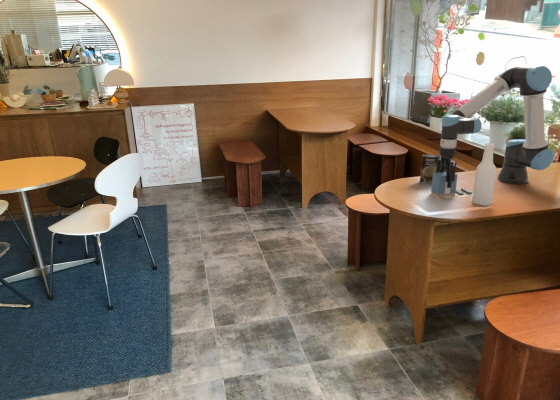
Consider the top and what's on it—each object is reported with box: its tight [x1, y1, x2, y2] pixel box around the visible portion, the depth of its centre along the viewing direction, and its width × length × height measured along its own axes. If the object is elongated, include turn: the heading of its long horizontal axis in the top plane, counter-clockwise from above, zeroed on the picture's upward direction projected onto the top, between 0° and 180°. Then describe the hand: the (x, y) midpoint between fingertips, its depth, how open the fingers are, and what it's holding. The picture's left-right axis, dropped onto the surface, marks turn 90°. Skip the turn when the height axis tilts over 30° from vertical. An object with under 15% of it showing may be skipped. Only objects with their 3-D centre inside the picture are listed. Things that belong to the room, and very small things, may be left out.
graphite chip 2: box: [460, 187, 473, 194], centre depth 233 cm, size 2×7×1 cm, turn 13°
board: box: [427, 187, 473, 200], centre depth 231 cm, size 22×12×1 cm, turn 103°
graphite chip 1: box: [455, 188, 464, 195], centre depth 232 cm, size 2×7×1 cm, turn 13°
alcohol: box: [471, 142, 497, 208], centre depth 214 cm, size 9×9×30 cm
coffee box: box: [419, 153, 440, 184], centre depth 249 cm, size 9×6×16 cm
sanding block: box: [430, 171, 458, 198], centre depth 228 cm, size 10×6×11 cm, turn 103°
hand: (443, 191), depth 230 cm, fingers open, 6 cm apart
